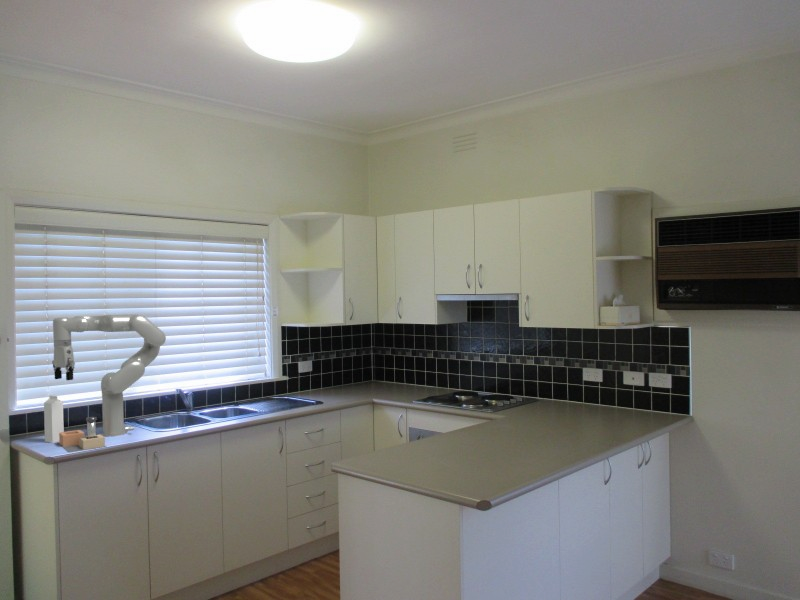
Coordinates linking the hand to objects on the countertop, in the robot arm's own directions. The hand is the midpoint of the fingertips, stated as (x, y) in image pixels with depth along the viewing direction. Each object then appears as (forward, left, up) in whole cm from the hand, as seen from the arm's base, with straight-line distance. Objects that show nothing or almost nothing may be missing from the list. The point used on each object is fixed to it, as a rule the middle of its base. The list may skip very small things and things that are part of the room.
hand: (63, 379), depth 314 cm
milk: (+4, -7, -31) cm, 31 cm away
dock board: (-4, +16, -30) cm, 34 cm away
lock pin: (-7, +22, -29) cm, 37 cm away
